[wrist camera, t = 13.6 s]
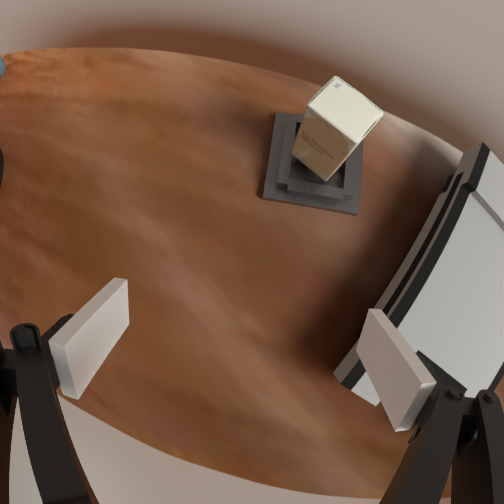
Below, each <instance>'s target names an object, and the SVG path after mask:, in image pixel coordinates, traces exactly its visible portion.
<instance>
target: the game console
mask: <svg viewBox="0 0 504 504" xmlns="http://www.w3.org/2000/svg"><path fill="white" fill-rule="evenodd" d="M373 309H381V310H382V311H383V313H384V314H385V315H386V316H387V318H388V319H389V320H390V321H391V323H392V324H393V325H394V326H395V328H396V329H397V330H398V332H399V333H400V334H401V335H402V337H403V338H404V339H405V341H406V342H407V343H408V344H409V346H410V347H411V348H412V350H413V351H414V352H415V353H419V354H420V355H422V356H423V357H424V358H425V359H426V360H427V361H428V363H429V364H430V366H432V368H433V369H434V371H435V372H436V373H437V374H438V376H439V377H440V378H441V380H442V381H443V382H444V384H445V385H451V386H455V387H457V388H459V389H460V390H461V391H462V392H463V393H464V395H465V397H471V398H475V397H476V395H477V394H478V392H479V391H480V390H482V389H487V390H491V391H492V392H494V390H495V388H496V387H497V385H498V383H499V382H500V380H501V378H502V377H503V375H504V165H503V164H502V163H501V162H500V160H498V158H497V157H496V156H495V155H494V154H493V153H492V151H491V150H490V149H489V148H488V147H487V146H486V145H485V144H484V143H483V142H482V143H480V144H478V145H477V146H475V147H474V148H472V149H470V150H469V151H467V152H465V153H463V156H462V158H461V160H460V163H459V165H458V167H457V170H456V172H455V174H453V175H451V176H449V178H448V180H447V183H446V185H445V187H444V189H443V191H442V193H441V194H440V195H439V197H438V199H437V201H436V203H435V205H434V207H433V209H432V211H431V213H430V215H429V216H428V218H427V220H426V222H425V224H424V226H423V228H422V230H421V231H420V233H419V235H418V237H417V239H416V240H415V242H414V244H413V246H412V247H411V249H410V251H409V253H408V254H407V256H406V258H405V259H404V261H403V263H402V264H401V266H400V268H399V269H398V271H397V273H396V274H395V276H394V277H393V279H392V281H391V282H390V284H389V285H388V287H387V288H386V290H385V292H384V293H383V295H382V296H381V298H380V299H379V301H378V302H377V304H376V305H375V307H374V308H373ZM363 326H364V324H363ZM363 326H362V327H361V329H360V330H359V331H358V333H357V334H358V335H360V336H361V333H362V329H363ZM359 339H360V338H359ZM359 339H358V341H357V342H356V343H355V345H354V346H353V347H352V349H351V350H350V351H349V353H348V354H347V355H346V357H345V358H344V359H343V361H342V362H341V363H340V364H339V366H338V367H337V368H336V370H335V371H334V372H333V374H334V376H335V377H336V379H337V380H338V381H339V383H340V384H341V385H343V386H344V387H346V388H348V389H349V390H351V391H352V392H354V393H355V394H357V395H359V396H360V397H362V398H363V399H365V400H367V401H368V402H370V403H371V404H373V405H375V406H377V404H378V403H379V402H380V401H381V400H380V398H379V396H378V394H377V392H376V390H375V388H374V386H373V384H372V382H371V380H370V378H369V376H368V374H367V372H366V370H365V368H364V366H363V364H362V362H361V360H360V358H359V356H358V354H357V352H356V348H357V345H358V342H359Z"/></svg>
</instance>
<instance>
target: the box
mask: <svg viewBox="0 0 504 504" xmlns="http://www.w3.org/2000/svg"><path fill="white" fill-rule="evenodd" d="M383 114H384V113H383V111H382V110H381V109H380V108H378V107H377V106H376V105H375V104H374V103H372V102H371V101H370V100H368V99H367V98H366V97H365V96H364V95H362V94H361V93H360V92H358V91H357V90H356V89H354V88H353V87H351V86H350V85H349V84H347V83H346V82H344V81H343V80H342V79H340V78H339V77H337V76H334V77H333V78H332V79H331V80H330V81H329V82H328V83H327V84H326V85H325V86H324V87H323V88H322V89H321V90H320V91H319V92H318V93H317V94H316V95H315V96H314V97H313V98H312V99H311V100H310V101H309V103H308V104H307V107H306V110H305V113H304V116H303V119H302V122H301V125H300V128H299V131H298V134H297V137H296V140H295V143H294V146H293V149H292V152H291V153H292V155H294V156H295V157H296V158H297V159H299V160H300V161H301V162H302V163H303V164H305V165H306V166H307V167H308V168H310V169H311V170H312V171H313V172H314V173H316V174H317V175H318V176H319V177H321V178H322V179H323V180H324V181H327V180H328V179H329V178H330V177H331V176H332V175H333V174H334V173H335V171H336V170H337V169H338V168H339V167H340V166H341V165H342V163H343V162H344V161H345V160H346V159H347V157H348V156H349V155H350V154H351V153H352V151H353V150H354V149H355V148H356V147H357V145H358V144H359V143H360V142H361V141H362V139H363V138H364V137H365V136H366V135H367V134H368V132H369V131H370V130H371V129H372V128H373V127H374V125H375V124H376V123H377V122H378V121H379V119H380V118H381V117H382V116H383Z"/></svg>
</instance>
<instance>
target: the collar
mask: <svg viewBox="0 0 504 504" xmlns="http://www.w3.org/2000/svg"><path fill="white" fill-rule="evenodd" d="M303 116H304V114H299V113H298V114H297V115H290V114H284V113H277V112H276V116H275V123H274V129H273V135H272V142H271V148H270V154H269V161H268V167H267V173H266V179H265V186H264V192H263V200H269V201H276V202H282V203H288V204H294V205H300V206H306V207H312V208H317V209H323V210H328V211H334V212H339V213H345V214H350V215H355V216H356V215H357V214H358V209H359V198H360V186H361V171H362V154H363V139H362V141H361V142H360V143H359V144H358V145H357V147H356V148H355V149H354V150H353V151H352V153H351V154H350V155H349V156H348V157H347V159H346V160H345V161H344V162H343V163H342V165H341V166H340V167H339V168H338V169H337V170H336V171H335V173H334V174H333V175H332V176H331V177H330V178H329V179H328V180H327V181H324V180H323V179H322V178H321V177H319V176H318V175H317V174H316V173H314V172H313V171H312V170H311V169H310V168H308V167H307V166H306V165H305V164H303V163H302V162H301V161H300V160H299V159H297V158H296V157H295V156H294V155H292V153H291V152H292V149H293V146H294V143H295V140H296V137H297V134H298V131H299V128H300V125H301V122H302V119H303Z"/></svg>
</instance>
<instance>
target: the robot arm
mask: <svg viewBox="0 0 504 504" xmlns="http://www.w3.org/2000/svg"><path fill="white" fill-rule="evenodd" d="M5 69H6V65H5V62H4V60H3V59H2V58H1V57H0V79H1V78H2V76H3V75H4V73H5ZM2 175H3V155H2V151H1V149H0V185H1V180H2ZM128 325H129V311H128V283H127V279H121V278H114V279H113V280H112V281H110V282H109V283H108V284H107V285H106V286H105V287H104V288H103V289H102V290H101V291H99V292H98V293H97V294H96V295H95V296H94V297H93V298H92V299H91V300H90V301H89V302H88V303H87V304H86V305H84V306H83V307H82V308H81V309H80V310H79V311H78V312H77V313H76V314H75V315H73V314H68V315H66V316H64V317H62V318H60V319H59V320H58V321H57V322H56V323H55V324H54V325H53V326H52V327H51V329H49V330H48V331H47V332H46V333H45V334H43V335H42V336H40V331H39V329H38V327H37V326H36V325H34V324H30V323H23V324H19V325H17V326H15V327H13V328H12V329H11V331H10V338H11V341H12V345H13V348H14V350H12V349H4V348H3V347H2V343H1V341H0V504H9V468H10V451H11V440H12V430H13V422H14V415H15V408H16V403H17V397H18V399H19V406H20V412H21V419H22V425H23V430H24V435H25V440H26V445H27V449H28V454H29V458H30V462H31V465H32V469H33V473H34V476H35V480H36V483H37V486H38V489H39V492H40V496H41V499H42V502H43V504H99V502H98V500H97V498H96V496H95V494H94V492H93V490H92V488H91V486H90V484H89V482H88V480H87V477H86V475H85V473H84V470H83V468H82V466H81V464H80V461H79V458H78V456H77V454H76V451H75V448H74V446H73V443H72V440H71V438H70V435H69V432H68V429H67V426H66V423H65V420H64V416H63V414H62V410H61V407H60V403H59V400H58V396H57V393H56V389H57V388H58V386H59V385H60V386H61V390H62V393H63V395H66V396H68V397H71V398H74V399H77V400H78V399H79V398H80V396H81V395H82V393H83V392H84V390H85V388H86V387H87V385H88V384H89V382H90V381H91V379H92V378H93V376H94V375H95V373H96V372H97V370H98V369H99V367H100V366H101V364H102V363H103V361H104V360H105V358H106V357H107V355H108V354H109V352H110V351H111V350H112V348H113V347H114V345H115V344H116V342H117V341H118V339H119V338H120V337H121V335H122V334H123V332H124V331H125V329H126V328H127V327H128ZM356 352H357V354H358V356H359V358H360V360H361V362H362V364H363V366H364V368H365V370H366V372H367V374H368V376H369V378H370V380H371V382H372V384H373V386H374V388H375V390H376V392H377V394H378V396H379V398H380V400H381V403H382V405H383V407H384V409H385V411H386V413H387V415H388V417H389V420H390V422H391V424H392V426H393V428H394V430H395V432H396V431H403V430H409V429H410V428H411V426H412V425H413V423H414V421H415V420H416V422H417V424H418V427H417V429H416V431H415V432H414V434H413V435H412V437H411V438H410V440H409V441H408V443H410V444H409V446H408V449H407V451H406V453H405V455H404V457H403V459H402V462H401V464H400V466H399V468H398V470H397V472H396V474H395V476H394V478H393V480H392V481H391V483H390V485H389V487H388V489H387V491H386V492H385V494H384V496H383V498H382V500H381V501H380V503H379V504H439V502H440V499H441V496H442V493H443V490H444V487H445V484H446V481H447V478H448V474H449V471H450V468H451V464H452V491H451V504H504V412H503V409H502V406H501V402H500V399H499V397H498V396H497V395H496V394H495V393H494V392H492V391H491V390H487V389H482V390H480V391H479V392H478V394H477V395H476V397H475V398H471V397H465V395H464V393H463V392H462V391H461V390H460V389H459V388H457V387H455V386H451V385H445V384H444V382H443V381H442V380H441V378H440V377H439V376H438V374H437V373H436V372H435V371H434V369H433V368H432V366H430V364H429V363H428V361H427V360H426V359H425V358H424V357H423V356H422V355H420V354H419V353H415V352H414V351H413V350H412V348H411V347H410V346H409V344H408V343H407V342H406V341H405V339H404V338H403V337H402V335H401V334H400V333H399V332H398V330H397V329H396V328H395V326H394V325H393V324H392V323H391V321H390V320H389V319H388V318H387V316H386V315H385V314H384V313H383V311H382V310H381V309H369V310H368V313H367V317H366V320H365V323H364V326H363V329H362V333H361V336H360V339H359V342H358V345H357V348H356Z"/></svg>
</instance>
